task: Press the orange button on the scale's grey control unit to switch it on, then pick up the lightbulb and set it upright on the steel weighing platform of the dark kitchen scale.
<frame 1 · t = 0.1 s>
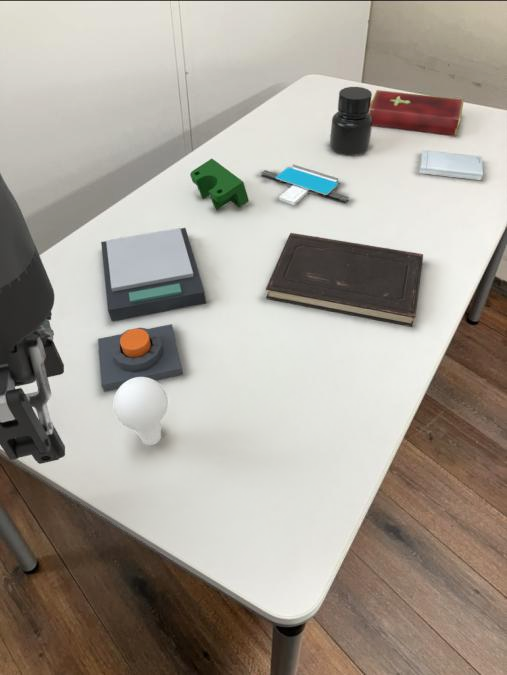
hand: (52, 412, 42), 21 cm above the table, tool pointing down, fingers open, 8 cm apart
ink bottle: (348, 148, 116), on the table
lightbulb: (152, 440, 65), on the table
control unit: (140, 359, 74), on the table
hardcover book: (345, 281, 85), on the table
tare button: (135, 343, 71), point 4 cm above the table, slide at 0.1 cm
clamp: (219, 201, 102), on the table
hard drive: (449, 168, 109), on the table
scale: (152, 276, 87), on the table
hardcover book 2: (412, 121, 125), on the table
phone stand: (301, 190, 104), on the table
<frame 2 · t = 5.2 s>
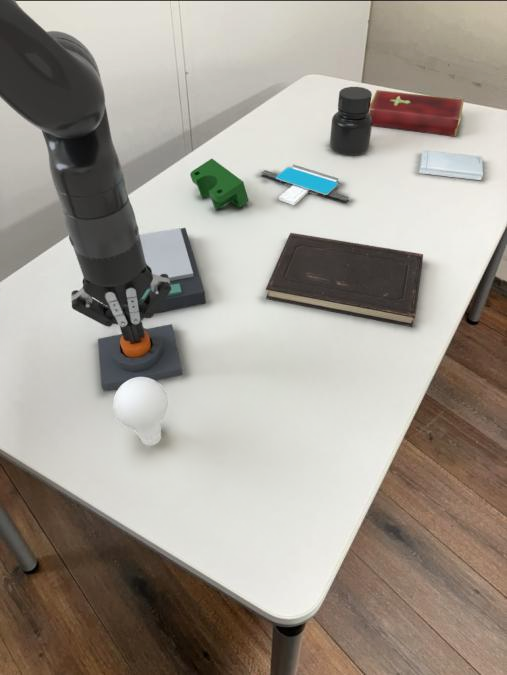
hand: (134, 338, 71), 4 cm above the table, tool pointing down, fingers closed
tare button: (135, 343, 71), point 3 cm above the table, slide at 0.1 cm, touching gripper
everything else where it was.
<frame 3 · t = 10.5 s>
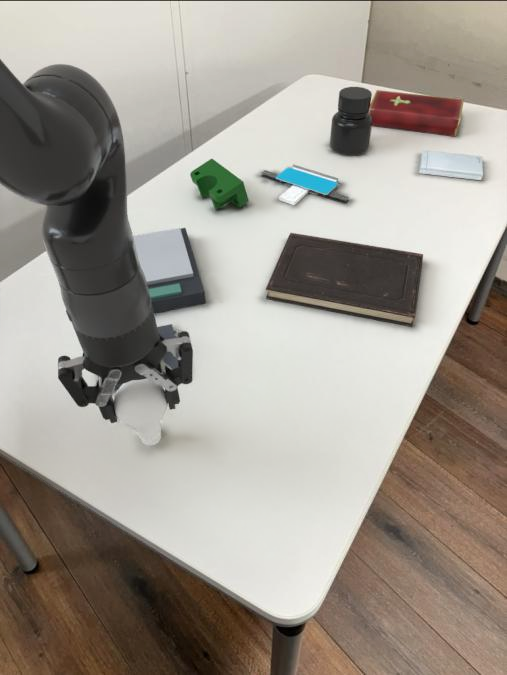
hand: (142, 409, 60), 7 cm above the table, tool pointing down, fingers closed on lightbulb, 6 cm apart
lightbulb: (152, 441, 65), on the table, touching gripper
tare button: (135, 343, 71), point 4 cm above the table, slide at 0.1 cm
everything else where it was.
when the fingers open (10 cm above the table, at t = 19.5 s): lightbulb stays where it is, resting on scale.
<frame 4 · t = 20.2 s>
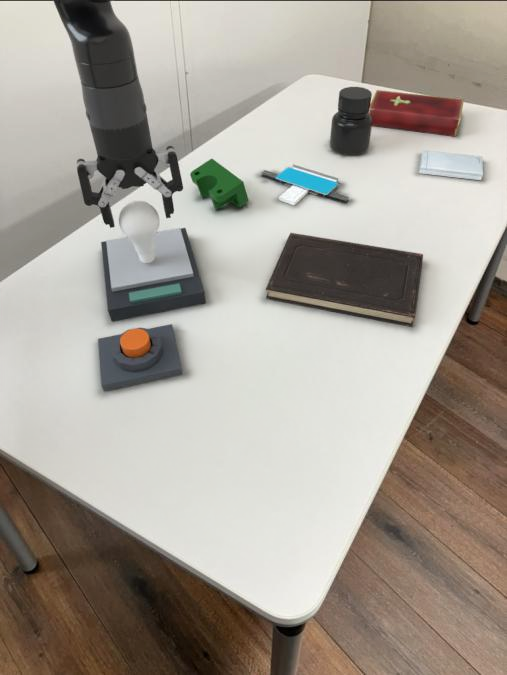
hand: (140, 220, 78), 11 cm above the table, tool pointing down, fingers open, 8 cm apart
lightbulb: (148, 262, 84), point 3 cm above the table, touching scale
everything else where it was.
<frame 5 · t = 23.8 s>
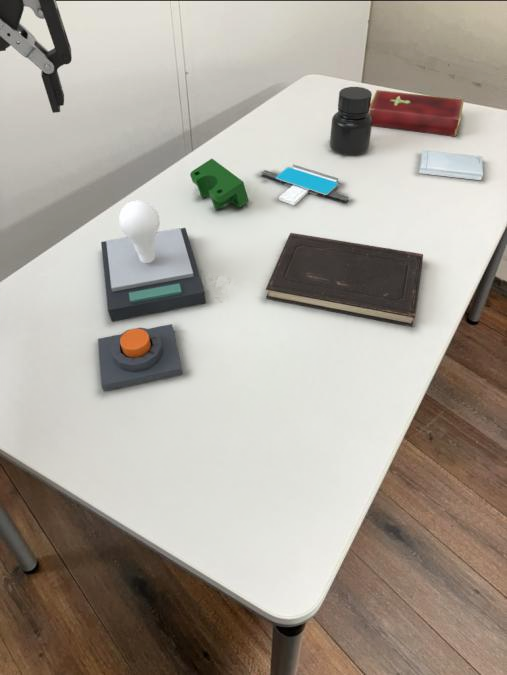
hand: (13, 115, 51), 34 cm above the table, tool pointing down, fingers open, 8 cm apart
nothing on the table moved.
at the end: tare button pushed in 0.9 cm at the most during the clip, back to where it started at the end; lightbulb inside the target area on the scale (1.6 cm from its centre), point 3.1 cm above the scale's base; lightbulb tilted 0° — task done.
